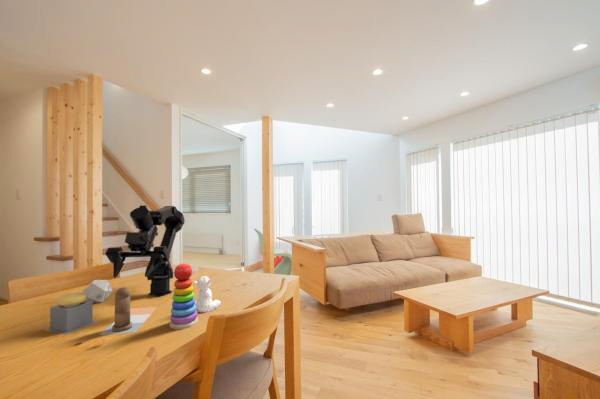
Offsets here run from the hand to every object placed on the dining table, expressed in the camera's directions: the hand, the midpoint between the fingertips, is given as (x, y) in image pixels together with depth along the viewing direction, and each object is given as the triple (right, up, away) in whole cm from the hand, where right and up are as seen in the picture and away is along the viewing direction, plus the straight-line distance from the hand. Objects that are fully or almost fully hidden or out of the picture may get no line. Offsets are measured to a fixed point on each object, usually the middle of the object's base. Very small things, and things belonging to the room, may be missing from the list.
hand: (130, 276), depth 87 cm
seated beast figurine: (+21, -14, +8) cm, 27 cm away
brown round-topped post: (+3, -13, -8) cm, 15 cm away
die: (-23, -14, +17) cm, 32 cm away
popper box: (-14, -14, -6) cm, 20 cm away
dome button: (-14, -11, -6) cm, 19 cm away
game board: (+2, -14, -2) cm, 14 cm away
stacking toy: (+19, -14, -5) cm, 24 cm away
